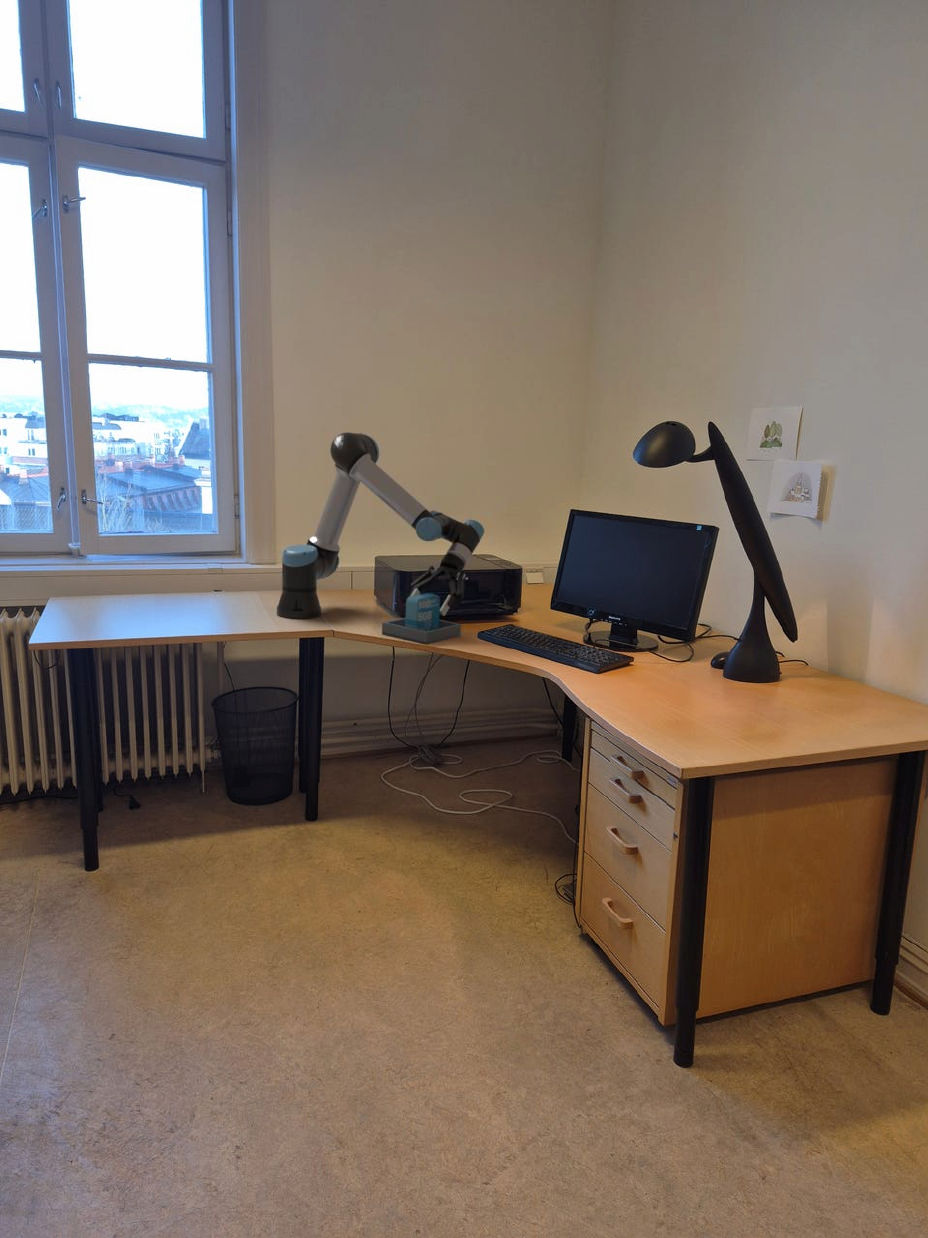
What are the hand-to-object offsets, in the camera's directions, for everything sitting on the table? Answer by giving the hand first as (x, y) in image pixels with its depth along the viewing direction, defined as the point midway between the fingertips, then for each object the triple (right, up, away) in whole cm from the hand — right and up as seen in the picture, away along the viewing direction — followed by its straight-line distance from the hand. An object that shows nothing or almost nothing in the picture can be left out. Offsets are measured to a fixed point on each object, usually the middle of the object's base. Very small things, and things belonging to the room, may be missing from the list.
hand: (424, 609), depth 243 cm
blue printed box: (-1, -7, +1) cm, 8 cm away
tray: (-1, -8, +1) cm, 8 cm away
